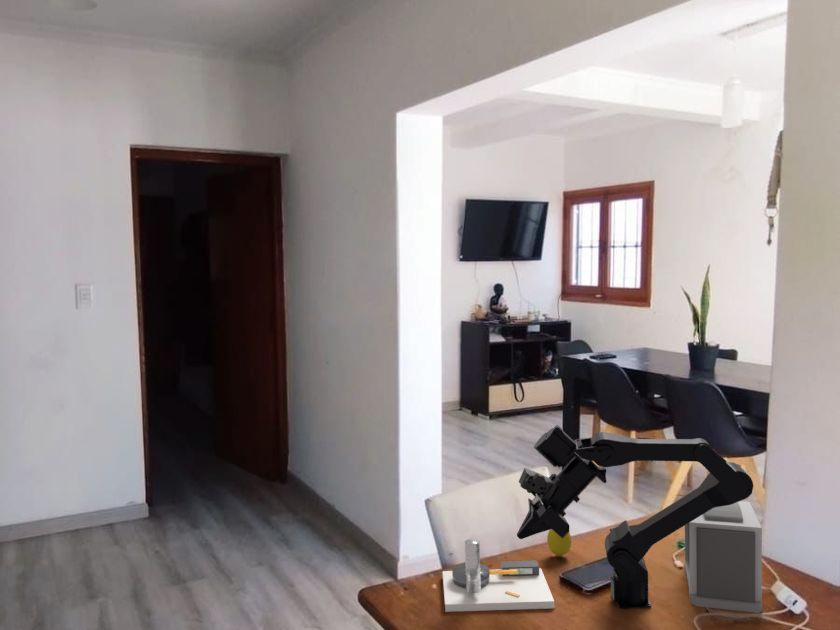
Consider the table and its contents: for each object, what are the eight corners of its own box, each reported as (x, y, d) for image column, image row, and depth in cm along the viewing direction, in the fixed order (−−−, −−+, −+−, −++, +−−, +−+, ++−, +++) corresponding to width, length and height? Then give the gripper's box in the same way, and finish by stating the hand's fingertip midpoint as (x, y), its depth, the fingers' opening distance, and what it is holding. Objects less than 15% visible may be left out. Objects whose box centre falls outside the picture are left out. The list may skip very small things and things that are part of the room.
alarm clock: (684, 566, 154) (683, 487, 152) (748, 572, 150) (748, 491, 148) (690, 605, 136) (690, 516, 135) (763, 613, 132) (763, 521, 131)
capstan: (514, 569, 150) (513, 520, 150) (523, 597, 138) (522, 543, 137) (451, 571, 150) (450, 522, 150) (454, 599, 138) (453, 545, 137)
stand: (541, 574, 152) (540, 559, 151) (554, 608, 137) (554, 591, 136) (442, 577, 152) (442, 562, 151) (445, 611, 137) (444, 594, 136)
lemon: (565, 563, 157) (564, 530, 156) (543, 558, 160) (542, 525, 159) (575, 555, 161) (574, 522, 160) (554, 549, 164) (553, 517, 164)
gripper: (534, 444, 148) (485, 496, 148) (550, 469, 129) (494, 528, 130) (571, 478, 148) (522, 529, 149) (593, 508, 130) (537, 567, 130)
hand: (518, 537), depth 139 cm, fingers closed
